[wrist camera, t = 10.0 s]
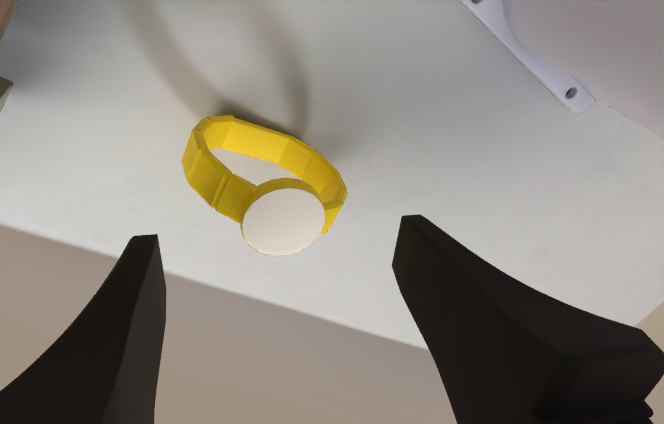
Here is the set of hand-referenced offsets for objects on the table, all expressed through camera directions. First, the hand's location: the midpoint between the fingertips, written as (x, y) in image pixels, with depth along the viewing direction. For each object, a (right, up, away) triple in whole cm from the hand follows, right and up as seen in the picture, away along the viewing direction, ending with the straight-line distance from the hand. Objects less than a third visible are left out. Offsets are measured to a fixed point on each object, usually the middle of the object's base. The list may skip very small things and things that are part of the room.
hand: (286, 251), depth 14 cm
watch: (-2, +4, +6) cm, 8 cm away
